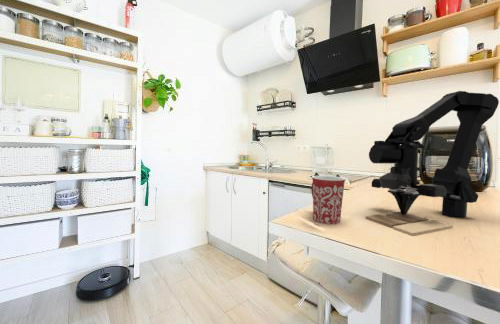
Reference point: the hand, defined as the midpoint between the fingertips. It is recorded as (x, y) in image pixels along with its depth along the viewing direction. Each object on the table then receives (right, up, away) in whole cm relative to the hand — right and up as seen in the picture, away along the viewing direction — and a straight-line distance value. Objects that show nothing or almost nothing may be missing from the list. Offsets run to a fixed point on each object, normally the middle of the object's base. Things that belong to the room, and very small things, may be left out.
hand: (403, 214), depth 66 cm
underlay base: (-4, -2, -6) cm, 7 cm away
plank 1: (-9, -1, -5) cm, 10 cm away
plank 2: (0, -1, -2) cm, 2 cm away
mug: (-25, -2, -2) cm, 26 cm away
